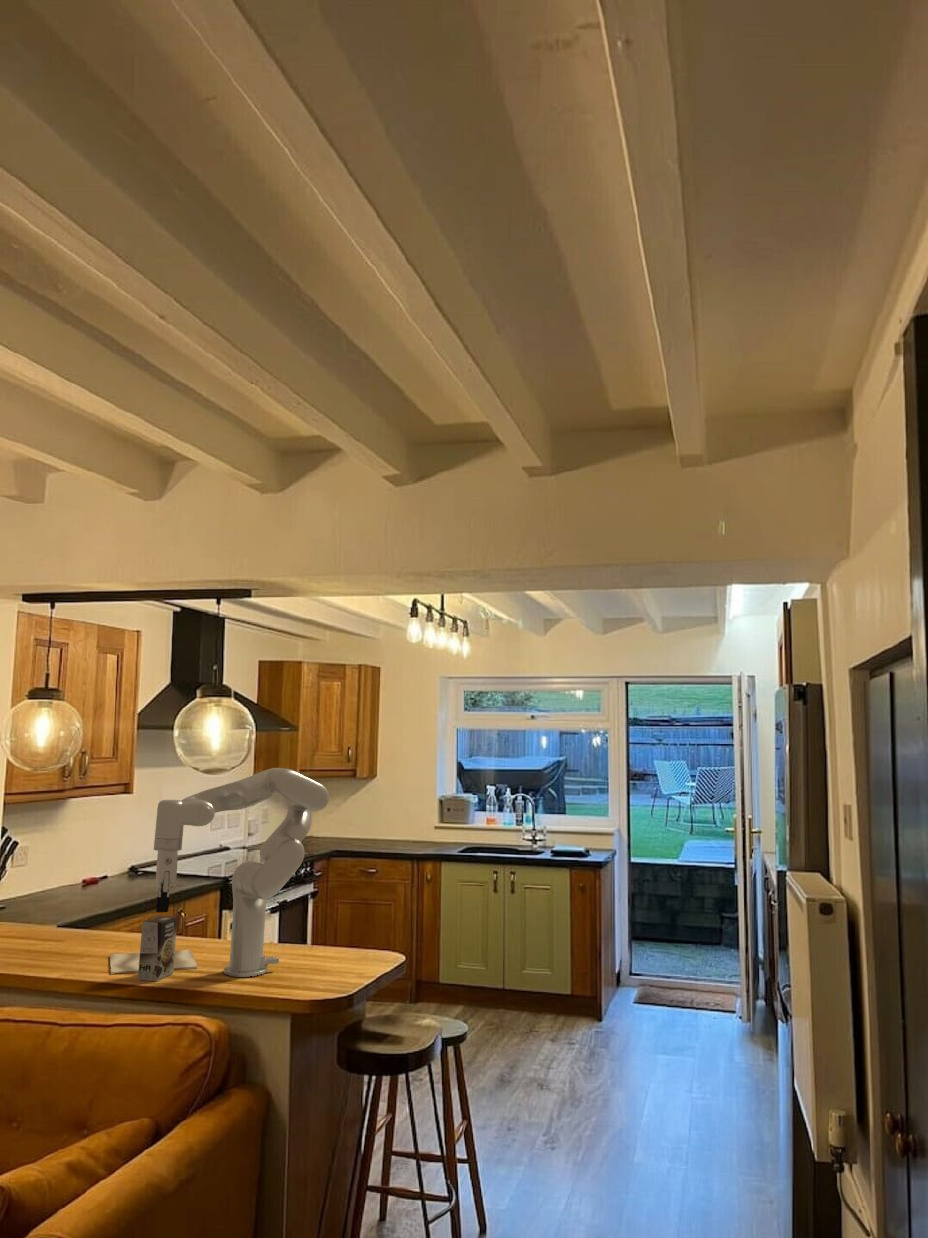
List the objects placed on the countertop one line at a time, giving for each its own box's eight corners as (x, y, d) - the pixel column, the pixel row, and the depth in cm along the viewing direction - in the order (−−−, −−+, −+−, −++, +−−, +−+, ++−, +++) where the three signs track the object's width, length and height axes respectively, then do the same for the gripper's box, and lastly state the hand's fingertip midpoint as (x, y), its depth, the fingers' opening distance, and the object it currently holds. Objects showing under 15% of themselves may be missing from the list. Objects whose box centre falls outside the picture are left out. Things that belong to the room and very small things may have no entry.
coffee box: (157, 982, 245) (161, 922, 247) (136, 980, 246) (141, 920, 248) (174, 973, 254) (178, 916, 256) (154, 972, 255) (158, 914, 257)
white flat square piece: (190, 951, 280) (190, 949, 280) (197, 968, 260) (197, 966, 260) (109, 956, 271) (110, 954, 271) (110, 974, 251) (110, 972, 251)
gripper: (184, 847, 241) (178, 916, 238) (179, 841, 254) (173, 906, 251) (155, 847, 238) (149, 917, 235) (152, 841, 251) (146, 907, 249)
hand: (161, 911), depth 243 cm, fingers closed
